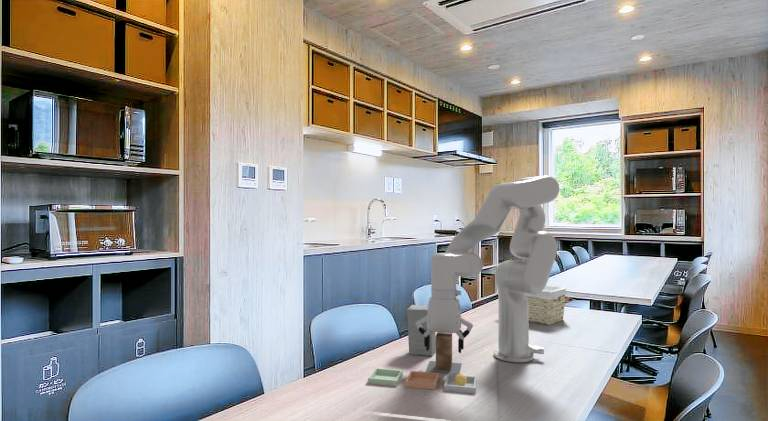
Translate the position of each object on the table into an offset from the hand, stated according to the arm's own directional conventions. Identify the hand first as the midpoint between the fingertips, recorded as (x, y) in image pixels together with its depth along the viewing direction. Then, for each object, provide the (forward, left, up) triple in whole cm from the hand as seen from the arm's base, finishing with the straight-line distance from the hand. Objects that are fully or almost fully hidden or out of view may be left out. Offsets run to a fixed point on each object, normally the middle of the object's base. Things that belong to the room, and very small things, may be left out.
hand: (443, 350), depth 135 cm
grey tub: (-6, +13, -6) cm, 15 cm away
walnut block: (0, 0, -5) cm, 5 cm away
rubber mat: (0, 0, -6) cm, 6 cm away
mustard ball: (-6, +13, -4) cm, 15 cm away
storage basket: (-32, -73, -6) cm, 80 cm away
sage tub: (+15, +13, -6) cm, 21 cm away
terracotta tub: (+4, +13, -6) cm, 15 cm away
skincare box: (+9, -14, -6) cm, 18 cm away
